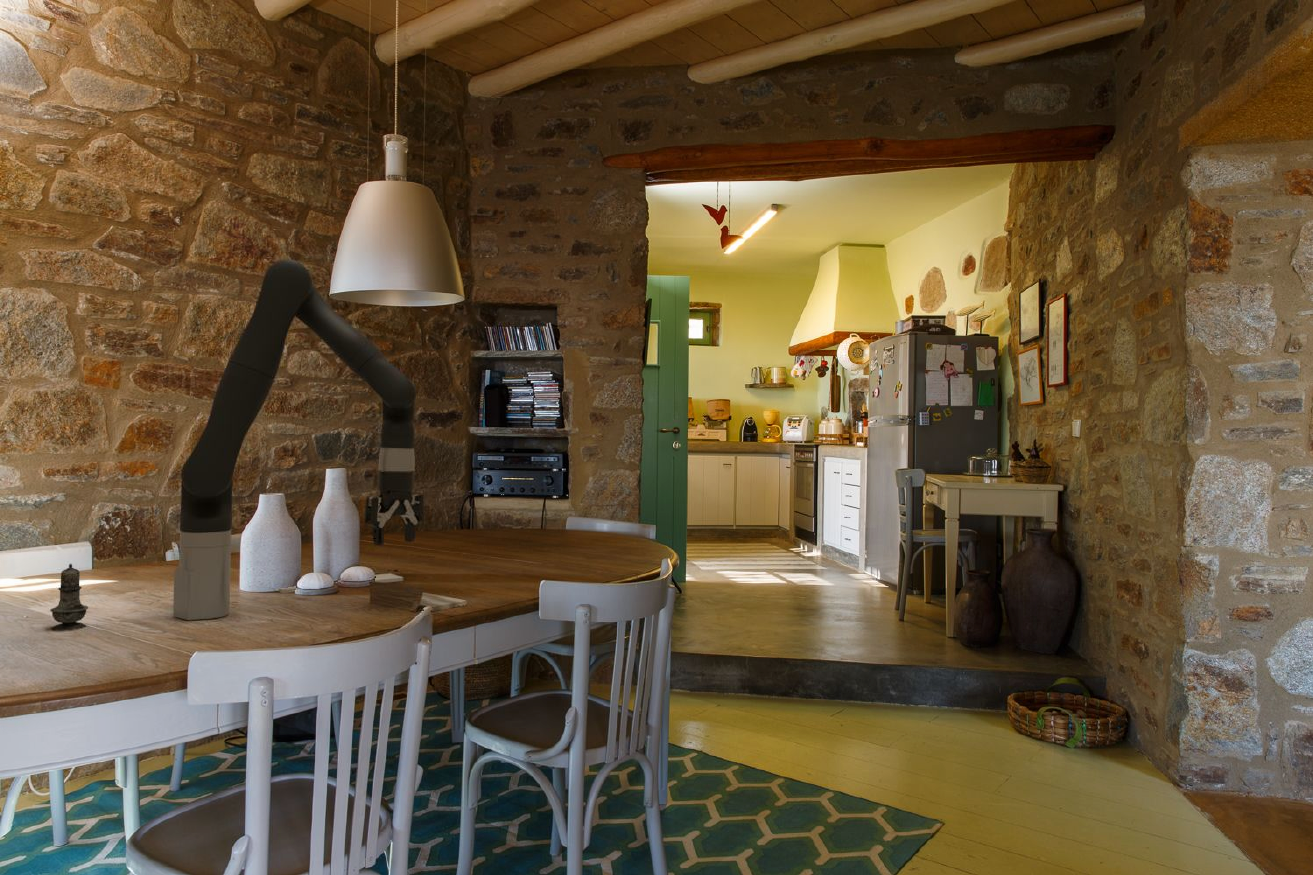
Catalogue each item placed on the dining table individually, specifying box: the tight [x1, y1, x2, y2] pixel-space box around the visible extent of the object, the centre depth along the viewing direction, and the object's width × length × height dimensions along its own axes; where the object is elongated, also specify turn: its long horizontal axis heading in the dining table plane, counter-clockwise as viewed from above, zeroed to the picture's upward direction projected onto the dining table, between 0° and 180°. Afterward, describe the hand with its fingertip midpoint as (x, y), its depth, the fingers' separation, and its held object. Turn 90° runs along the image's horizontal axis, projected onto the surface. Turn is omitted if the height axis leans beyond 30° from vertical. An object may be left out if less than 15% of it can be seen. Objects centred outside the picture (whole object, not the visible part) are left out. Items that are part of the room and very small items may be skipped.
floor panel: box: [416, 592, 468, 612], centre depth 192 cm, size 10×20×1 cm, turn 56°
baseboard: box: [278, 569, 404, 594], centre depth 212 cm, size 30×3×10 cm
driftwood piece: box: [369, 581, 424, 613], centre depth 186 cm, size 15×2×5 cm, turn 61°
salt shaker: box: [49, 563, 89, 632], centre depth 160 cm, size 6×6×12 cm
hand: (394, 543), depth 187 cm, fingers open, 8 cm apart
